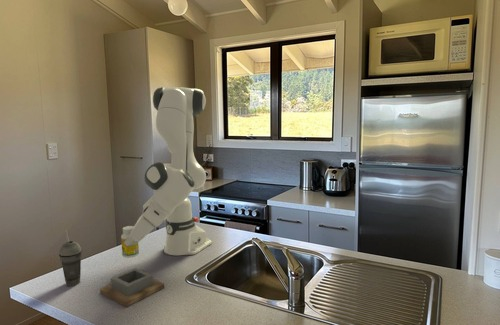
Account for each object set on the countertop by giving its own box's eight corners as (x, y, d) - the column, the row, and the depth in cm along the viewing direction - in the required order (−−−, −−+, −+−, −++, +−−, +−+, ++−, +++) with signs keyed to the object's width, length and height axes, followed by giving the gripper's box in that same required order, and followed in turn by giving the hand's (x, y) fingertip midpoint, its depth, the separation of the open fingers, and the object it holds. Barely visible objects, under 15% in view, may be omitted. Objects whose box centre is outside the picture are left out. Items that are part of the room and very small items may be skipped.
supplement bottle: (139, 256, 113) (138, 228, 112) (122, 259, 111) (120, 231, 110) (138, 250, 118) (136, 224, 117) (121, 253, 116) (120, 226, 115)
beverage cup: (74, 289, 117) (70, 233, 115) (56, 287, 119) (51, 232, 116) (88, 279, 124) (84, 227, 122) (71, 277, 126) (67, 226, 123)
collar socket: (138, 276, 127) (137, 263, 126) (164, 287, 118) (163, 274, 117) (100, 292, 115) (99, 279, 114) (126, 307, 106) (125, 292, 105)
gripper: (153, 197, 124) (127, 224, 123) (144, 212, 104) (113, 245, 103) (166, 208, 125) (140, 235, 125) (160, 225, 105) (129, 258, 105)
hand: (127, 240), depth 114 cm, fingers closed on supplement bottle, 5 cm apart
